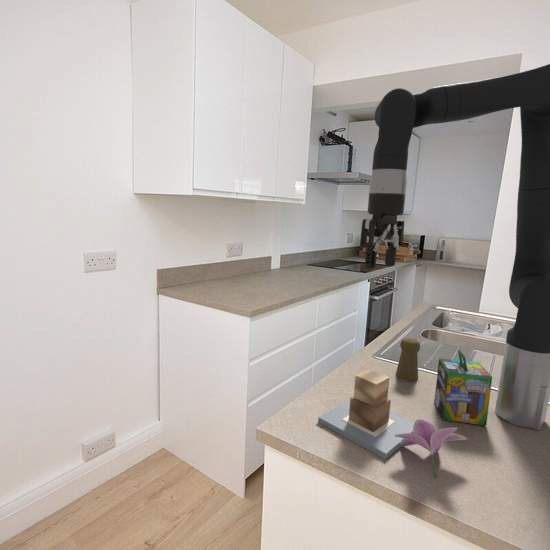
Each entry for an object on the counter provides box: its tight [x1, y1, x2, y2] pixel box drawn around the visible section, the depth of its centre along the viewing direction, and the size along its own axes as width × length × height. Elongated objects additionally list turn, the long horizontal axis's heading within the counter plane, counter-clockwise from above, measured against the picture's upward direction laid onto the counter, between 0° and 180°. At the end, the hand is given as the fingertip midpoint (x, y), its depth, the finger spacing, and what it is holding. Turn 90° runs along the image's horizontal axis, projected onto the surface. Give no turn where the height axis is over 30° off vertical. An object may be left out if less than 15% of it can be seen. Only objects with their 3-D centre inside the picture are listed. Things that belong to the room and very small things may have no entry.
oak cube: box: [353, 368, 391, 407], centre depth 77 cm, size 5×5×5 cm
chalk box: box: [433, 348, 493, 426], centre depth 84 cm, size 9×9×15 cm
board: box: [317, 398, 415, 460], centre depth 78 cm, size 16×14×1 cm
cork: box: [395, 337, 421, 383], centre depth 102 cm, size 6×6×11 cm
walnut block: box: [349, 395, 392, 432], centre depth 78 cm, size 6×6×5 cm
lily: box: [395, 418, 468, 479], centre depth 67 cm, size 12×12×10 cm
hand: (380, 267), depth 82 cm, fingers open, 8 cm apart
